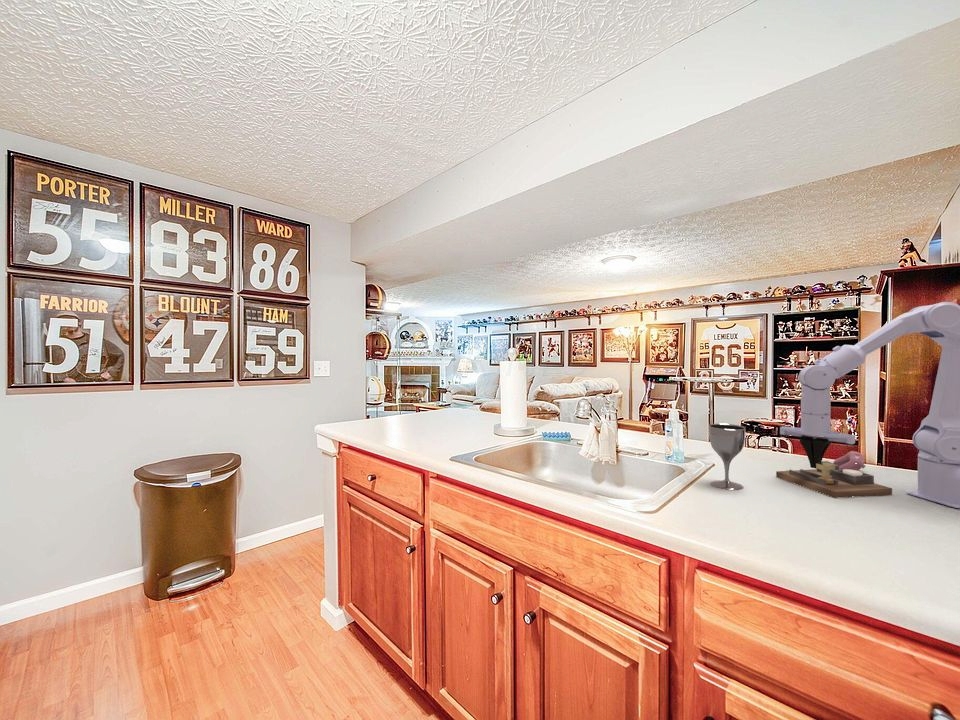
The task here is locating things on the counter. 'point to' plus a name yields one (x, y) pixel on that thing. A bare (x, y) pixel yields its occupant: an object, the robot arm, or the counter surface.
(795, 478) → the control panel
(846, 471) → the push button
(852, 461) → the pink toy figure
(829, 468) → the slide lever
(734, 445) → the wine glass
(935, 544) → the counter surface
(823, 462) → the rocker switch
